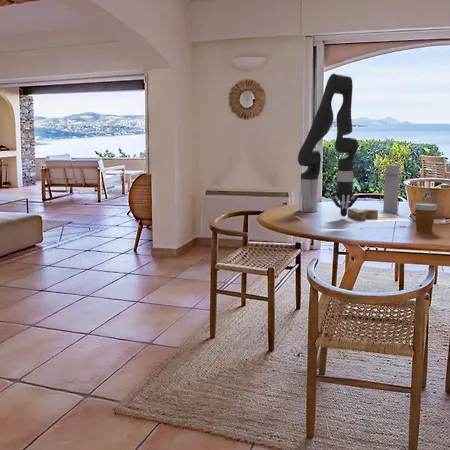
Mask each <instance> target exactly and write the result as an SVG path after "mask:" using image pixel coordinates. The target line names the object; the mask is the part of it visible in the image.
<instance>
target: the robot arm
mask: <svg viewBox="0 0 450 450" xmlns="http://www.w3.org/2000/svg"><path fill="white" fill-rule="evenodd" d="M353 87H354V86H353V78H352V77H351V76H350V75H348V74H342V73H335V72H334V73H331V74H330V76H329V77H328V80H327V82H326V85H325V88H324V91H323V95H322V99H321V100H320V104H319V106H318V108H317V112H316V113H315V115H314V118H313V121H312V124H311V126H310V129H309V131H308V134H307V136H306V137H305V140H304V142H303V144H302V146H301V148H300V150H299V152H298V155H297V163H298V165H299V166H301V167H307V169H306V170H305V171H303V172H301V174H300V188H299V193H298V211H300V212H302V213H314V212H316V213H317V212H318V195H319V194H318V193H319V192H318V191H319V175H320V173H321V163H322V160H321V159H322V158H321V157H322V155H321V151H320V150H319V149H318V148H315V147H316V146H317V144H318V143H319V142H320V141H321V140H322V139H323V138H324V137H325V136H326V135H327V134H328V132H329V131H330V129H331V128H332V125H333V122H334V119H335V118H334V111H333V105H332V101H333V98H334V95H335V94H336V95H342V104H341V106H340V108H339V110H338V111H337V114H336V130H337V131H336V139H335V143H334V149H335V152H337V153H338V154H339V153H340V154H347V155H346V156H345V157H341V158H339V159H338V161H337V162H338V163H337V173H336V192H335V195H334V196H331V200H332V202H333V203H334V205H335V206H336V207H337V208H339V209H340V213H339V214H340V215H341V216H343V217H346V215H348V209H350V208H352V206H353V205H354V204H355V203H356V201H357V200H358V197H357V196H355V194H354V192H353V190H354V162H355V157H356V153H357V151H358V149H359V142H358V140H357V139H356V138H355V137H344V136H347V135H350V134H351V133H353V122H352V103H353V100H352V99H353ZM341 216H340V217H341ZM343 217H342V218H343Z"/></svg>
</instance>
